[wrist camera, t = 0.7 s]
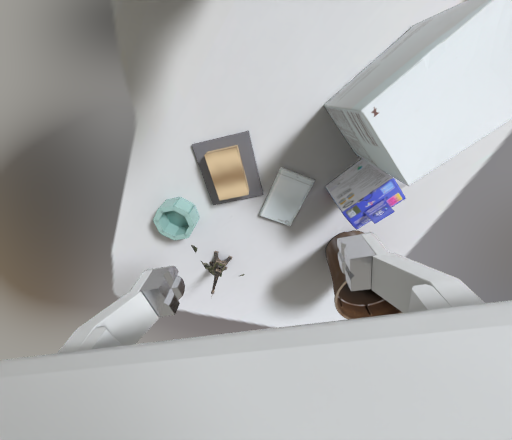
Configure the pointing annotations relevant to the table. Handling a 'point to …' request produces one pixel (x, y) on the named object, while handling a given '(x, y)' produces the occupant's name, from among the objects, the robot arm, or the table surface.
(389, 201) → the ink cartridge box
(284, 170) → the hard drive
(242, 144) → the mat
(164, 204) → the bowl
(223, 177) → the lid
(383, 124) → the supplement box
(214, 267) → the eiffel tower figurine
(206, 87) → the table surface
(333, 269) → the plant pot
